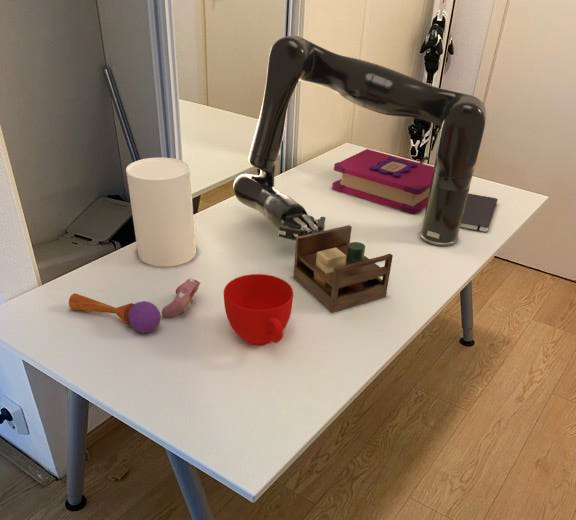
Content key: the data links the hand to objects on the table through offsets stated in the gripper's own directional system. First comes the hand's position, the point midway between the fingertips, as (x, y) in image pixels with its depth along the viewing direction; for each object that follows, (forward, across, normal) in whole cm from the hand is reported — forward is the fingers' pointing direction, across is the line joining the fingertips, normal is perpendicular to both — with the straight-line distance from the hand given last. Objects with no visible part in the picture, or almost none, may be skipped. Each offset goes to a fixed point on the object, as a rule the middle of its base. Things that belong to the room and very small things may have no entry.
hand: (322, 242), depth 130 cm
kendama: (-1, -47, +8) cm, 48 cm away
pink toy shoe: (+1, -34, +8) cm, 35 cm away
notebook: (-10, +55, +7) cm, 56 cm away
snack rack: (+8, 0, +7) cm, 11 cm away
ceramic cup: (+18, -25, +8) cm, 32 cm away
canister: (-24, -28, +7) cm, 38 cm away
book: (-32, +44, +7) cm, 55 cm away
